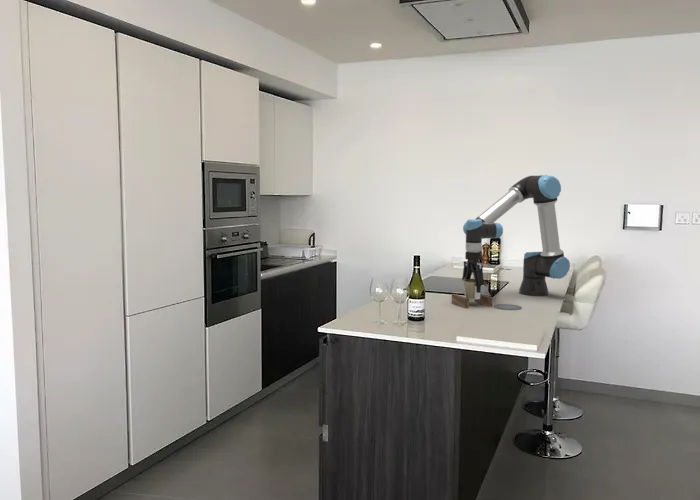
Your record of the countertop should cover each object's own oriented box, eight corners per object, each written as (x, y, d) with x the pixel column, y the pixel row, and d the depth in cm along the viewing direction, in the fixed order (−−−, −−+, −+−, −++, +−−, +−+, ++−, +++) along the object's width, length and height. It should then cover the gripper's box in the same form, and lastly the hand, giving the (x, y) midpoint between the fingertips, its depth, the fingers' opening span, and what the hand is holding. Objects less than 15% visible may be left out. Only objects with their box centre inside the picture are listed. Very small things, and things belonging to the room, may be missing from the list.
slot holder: (477, 301, 298) (478, 292, 298) (492, 306, 286) (492, 297, 286) (451, 303, 293) (451, 294, 293) (465, 308, 281) (465, 298, 281)
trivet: (511, 304, 293) (511, 303, 293) (527, 309, 281) (527, 308, 280) (488, 305, 288) (488, 304, 288) (503, 310, 276) (503, 309, 276)
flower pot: (482, 300, 284) (482, 282, 283) (462, 299, 286) (462, 281, 285) (482, 296, 293) (482, 279, 292) (462, 296, 295) (463, 278, 294)
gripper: (455, 249, 296) (454, 294, 298) (478, 253, 276) (477, 301, 278) (468, 248, 298) (467, 293, 301) (492, 253, 278) (491, 300, 281)
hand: (472, 297), depth 289 cm, fingers closed on flower pot, 8 cm apart
